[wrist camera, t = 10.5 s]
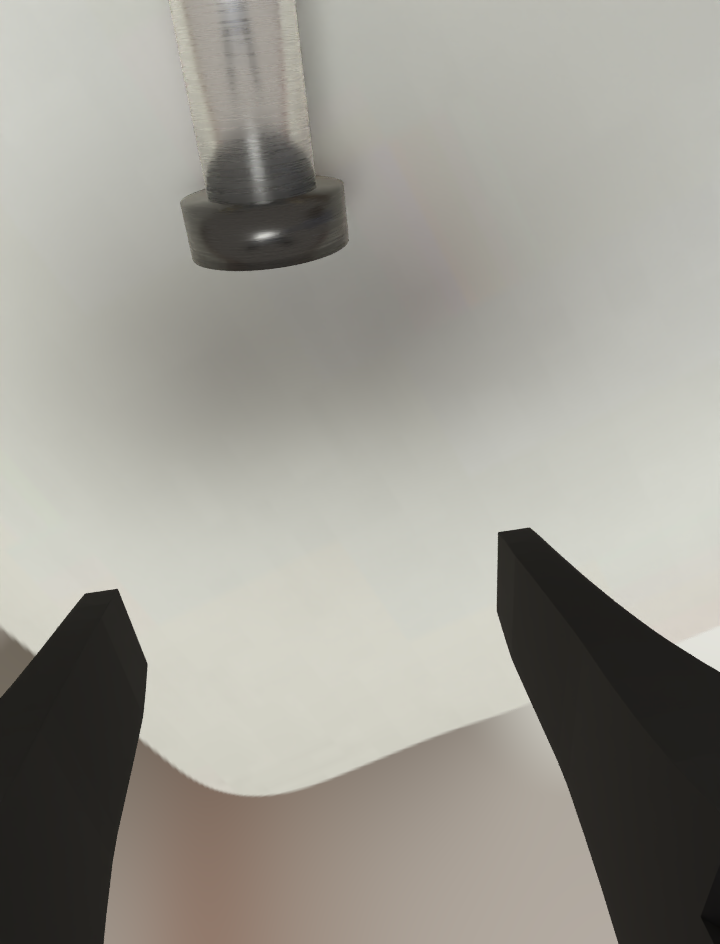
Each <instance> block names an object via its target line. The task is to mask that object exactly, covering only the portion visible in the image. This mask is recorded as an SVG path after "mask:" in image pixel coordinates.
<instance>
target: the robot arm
mask: <svg viewBox="0 0 720 944" xmlns="http://www.w3.org/2000/svg"><path fill="white" fill-rule="evenodd" d="M497 613H498V616H499V620H500V623H501V626H502V630H503V633H504V636H505V639H506V643H507V646H508V649H509V652H510V655H511V658H512V660H513V663H514V665H515V667H516V670H517V672H518V674H519V676H520V679H521V681H522V683H523V685H524V688H525V690H526V692H527V694H528V697H529V699H530V701H531V703H532V705H533V708H534V710H535V712H536V714H537V716H538V719H539V721H540V723H541V725H542V728H543V730H544V732H545V734H546V736H547V739H548V741H549V743H550V745H551V747H552V750H553V751H554V754H555V756H556V759H557V761H558V763H559V766H560V768H561V771H562V773H563V776H564V778H565V781H566V783H567V786H568V788H569V791H570V794H571V797H572V800H573V803H574V806H575V809H576V812H577V815H578V818H579V821H580V824H581V827H582V830H583V832H584V835H585V839H586V842H587V845H588V848H589V851H590V854H591V857H592V860H593V863H594V866H595V870H596V873H597V876H598V878H599V882H600V885H601V888H602V891H603V894H604V898H605V901H606V904H607V908H608V911H609V914H610V917H611V921H612V924H613V927H614V931H615V934H616V937H617V940H618V944H720V672H719V671H717V670H715V669H714V668H712V667H710V666H708V665H707V664H705V663H703V662H702V661H700V660H699V659H697V658H695V657H694V656H692V655H691V654H689V653H687V652H686V651H684V650H683V649H681V648H679V647H678V646H676V645H675V644H673V643H672V642H670V641H668V640H667V639H665V638H664V637H663V636H661V635H660V634H658V633H657V632H655V631H654V630H652V629H651V628H650V627H648V626H647V625H646V624H644V623H643V622H641V621H640V620H639V619H637V618H636V617H635V616H633V615H632V614H631V613H629V612H628V611H627V610H625V609H624V608H623V607H622V606H620V605H619V604H618V603H616V602H615V601H614V600H613V599H611V598H610V597H609V596H608V595H607V594H605V593H604V592H603V591H602V590H600V589H599V588H598V587H597V586H596V585H594V584H593V583H592V582H591V581H589V580H588V579H587V578H586V577H585V576H584V575H582V574H581V573H580V572H579V571H578V570H577V569H576V568H574V567H573V566H572V565H571V564H570V563H569V562H568V561H567V560H565V559H564V558H563V557H562V556H561V555H560V554H559V553H558V552H557V551H555V550H554V549H553V548H552V547H551V546H550V545H549V544H548V543H547V542H546V541H544V540H543V539H542V538H541V537H540V536H539V535H538V534H537V533H536V532H535V531H533V530H532V529H531V528H524V529H517V530H510V531H503V532H498V569H497ZM146 678H147V662H146V659H145V657H144V654H143V652H142V649H141V646H140V644H139V641H138V639H137V636H136V634H135V631H134V629H133V626H132V624H131V621H130V619H129V616H128V614H127V611H126V608H125V606H124V603H123V601H122V598H121V596H120V593H119V591H118V589H113V590H107V591H100V592H93V593H86V594H84V596H83V597H82V598H81V599H80V600H79V602H78V603H77V604H76V605H75V607H74V608H73V609H72V610H71V612H70V613H69V614H68V615H67V617H66V618H65V619H64V620H63V622H62V623H61V624H60V626H59V627H58V628H57V629H56V631H55V632H54V633H53V635H52V636H51V637H50V638H49V640H48V641H47V642H46V643H45V645H44V646H43V647H42V648H41V650H40V651H39V652H38V654H37V655H36V656H35V657H34V658H33V660H32V661H31V662H30V663H29V665H28V666H27V667H26V668H25V670H24V671H23V672H22V673H21V674H20V676H19V677H18V678H17V679H16V681H15V682H14V683H13V684H12V685H11V687H10V688H9V689H8V690H7V691H6V692H5V693H4V695H3V696H2V697H1V698H0V944H103V943H104V932H105V922H106V913H107V904H108V896H109V888H110V879H111V871H112V862H113V856H114V851H115V845H116V839H117V834H118V829H119V825H120V820H121V816H122V811H123V806H124V802H125V797H126V793H127V788H128V784H129V780H130V775H131V771H132V766H133V761H134V757H135V752H136V748H137V743H138V738H139V734H140V729H141V724H142V719H143V712H144V702H145V692H146Z"/></svg>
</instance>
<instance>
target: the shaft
mask: <svg viewBox="0 0 720 944" xmlns="http://www.w3.org/2000/svg"><path fill="white" fill-rule="evenodd" d="M168 1H169V6H170V11H171V16H172V21H173V26H174V31H175V36H176V41H177V46H178V51H179V56H180V61H181V66H182V71H183V76H184V81H185V86H186V91H187V96H188V101H189V106H190V111H191V116H192V121H193V126H194V131H195V136H196V142H197V147H198V152H199V157H200V162H201V167H202V172H203V177H204V182H205V187H206V189H204V190H201V191H198V192H195V193H193V194H190V195H188V196H186V197H185V198H183V199H182V200H181V202H180V204H181V209H182V213H183V218H184V222H185V227H186V231H187V236H188V241H189V245H190V250H191V254H192V259H193V261H194V262H195V263H196V264H197V265H199V266H202V267H205V268H209V269H215V270H225V271H252V270H265V269H274V268H281V267H287V266H293V265H297V264H302V263H306V262H310V261H314V260H317V259H320V258H323V257H326V256H328V255H331V254H333V253H335V252H337V251H339V250H341V249H342V248H343V247H345V246H346V244H347V243H348V241H349V239H348V228H347V218H346V207H345V196H344V186H343V182H342V181H341V180H339V179H336V178H332V177H325V176H315V170H314V161H313V152H312V144H311V135H310V126H309V118H308V109H307V100H306V91H305V83H304V74H303V65H302V57H301V48H300V39H299V31H298V22H297V13H296V4H295V0H168Z"/></svg>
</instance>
